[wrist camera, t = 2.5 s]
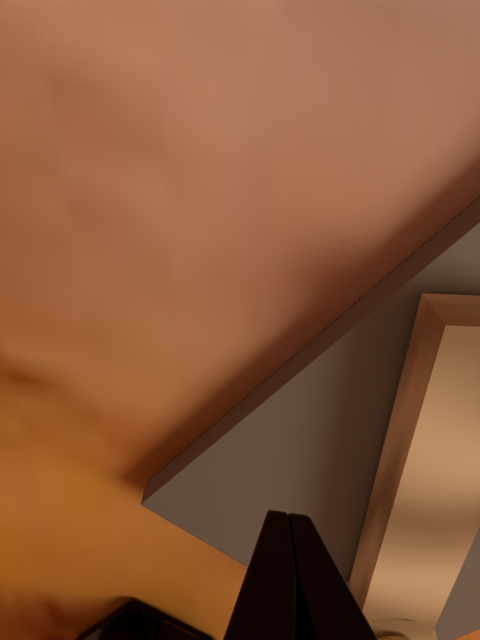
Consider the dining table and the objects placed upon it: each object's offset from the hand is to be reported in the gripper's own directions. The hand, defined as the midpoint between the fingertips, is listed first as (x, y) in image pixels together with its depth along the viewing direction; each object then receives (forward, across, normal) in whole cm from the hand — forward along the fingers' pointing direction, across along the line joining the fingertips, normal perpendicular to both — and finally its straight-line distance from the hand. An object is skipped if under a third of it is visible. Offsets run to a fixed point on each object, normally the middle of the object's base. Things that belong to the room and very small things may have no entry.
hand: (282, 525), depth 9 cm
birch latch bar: (+7, -7, +6) cm, 11 cm away
